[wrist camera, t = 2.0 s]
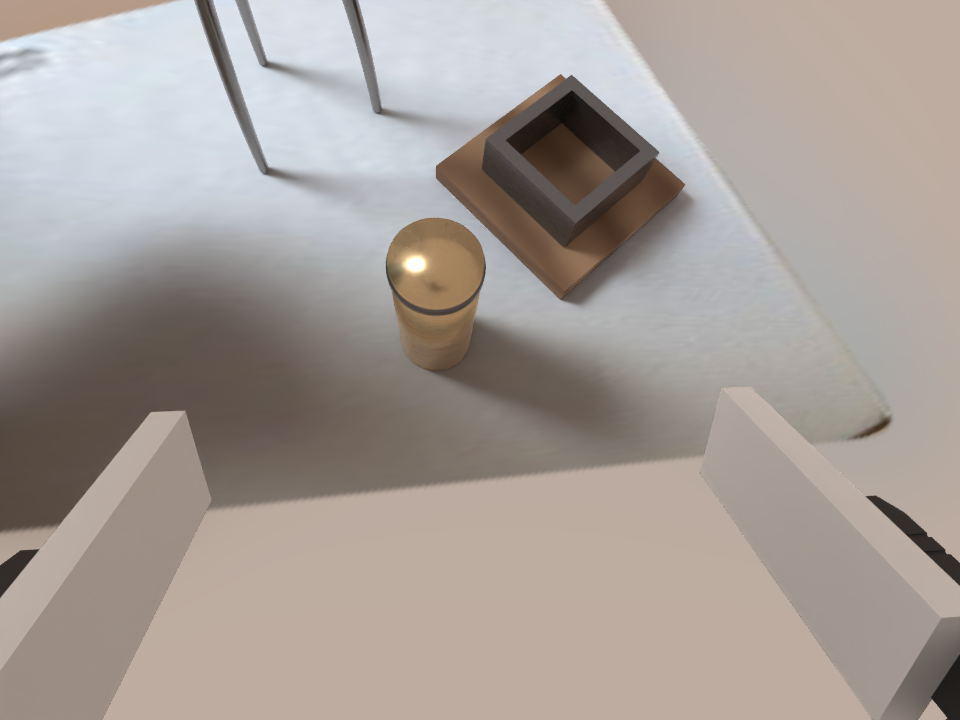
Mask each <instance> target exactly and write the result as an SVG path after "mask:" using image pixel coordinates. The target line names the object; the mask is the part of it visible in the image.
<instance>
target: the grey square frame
mask: <svg viewBox="0 0 960 720" xmlns="http://www.w3.org/2000/svg"><path fill="white" fill-rule="evenodd" d="M561 123H562V124H563V125H564V126H565V127H566V128H567V129H569V130H570V131H571V132H572V133H573V134H574V135H575V136H576V137H577V138H579V139H580V140H581V141H582V142H583V143H584V144H585V145H586V146H587V147H588V148H590V149H591V150H592V151H593V152H594V153H595V154H596V155H597V156H598V157H599V158H601V159H602V160H603V161H604V162H605V163H606V164H607V165H608V166H609V167H611V168H612V169H613V170H614V171H615V173H613V174H612V175H611V176H610V177H609V178H607V179H606V180H605V181H604V182H603V183H601V184H600V185H599V186H598V187H597V188H595V189H594V190H593V191H592V192H591V193H589V194H588V195H587V196H586V197H585V198H583V199H582V200H581V201H580V202H579V203H577V204H576V205H574V204H573V203H572V202H571V201H570V200H569V199H568V198H567V197H566V196H565V195H563V194H562V193H561V192H560V191H559V190H558V189H557V188H556V187H555V186H554V185H553V184H552V183H551V182H550V181H548V180H547V179H546V178H545V177H544V176H543V175H542V174H541V173H540V172H539V171H538V170H537V169H536V168H535V167H533V166H532V165H531V164H530V163H529V162H528V161H527V160H526V159H525V158H524V157H523V156H522V155H521V154H522V153H524V152H525V151H526V150H527V149H529V148H530V147H531V146H533V145H534V144H535V143H537V142H538V141H539V140H540V139H542V138H543V137H544V136H546V135H547V134H548V133H549V132H551V131H552V130H553V129H555V128H556V127H557V126H559V125H560V124H561ZM658 154H659V151H657V150H656V149H655V148H654V147H653V146H652V145H651V144H649V143H648V142H647V141H646V140H645V139H644V138H643V137H642V136H640V135H639V134H638V133H637V132H636V131H635V130H634V129H632V128H631V127H630V126H629V125H628V124H627V123H626V122H625V121H623V120H622V119H621V118H620V117H619V116H618V115H617V114H615V113H614V112H613V111H612V110H611V109H610V108H609V107H607V106H606V105H605V104H604V103H603V102H602V101H601V100H600V99H598V98H597V97H596V96H595V95H594V94H593V93H592V92H590V91H589V90H588V89H587V88H586V87H585V86H584V85H583V84H581V83H580V82H579V81H578V80H577V79H576V78H575V77H573V76H572V75H571V76H569V77H568V78H567V79H565V80H564V81H563V82H561V83H560V84H559V85H557V86H556V87H555V88H553V89H552V90H551V91H549V92H548V93H547V94H545V95H544V96H543V97H541V98H540V99H538V100H537V101H536V102H534V103H533V104H532V105H530V106H529V107H528V108H526V109H525V110H524V111H522V112H521V113H520V114H518V115H517V116H516V117H514V118H513V119H512V120H510V121H509V122H507V123H506V124H505V125H503V126H502V127H501V128H499V129H498V130H497V131H495V132H494V133H493V134H491V135H490V136H489V137H487V138H486V140H485V148H484V155H483V163H482V170H483V171H484V172H485V173H486V174H487V175H488V176H489V177H490V178H491V179H492V180H493V181H494V182H495V183H496V184H497V185H498V186H499V187H501V188H502V189H503V190H504V191H505V192H506V193H507V194H508V195H509V196H510V197H511V198H512V199H513V200H514V201H515V202H516V203H517V204H518V205H519V206H520V207H521V208H522V209H524V210H525V211H526V212H527V213H528V214H529V215H530V216H531V217H532V218H533V219H534V220H535V221H536V222H537V223H538V224H539V225H540V226H541V227H542V228H543V229H544V230H545V231H547V232H548V233H549V234H550V235H551V236H552V237H553V238H554V239H555V240H556V241H557V242H558V243H559V244H560V245H561V246H562V247H563V248H565V247H566V246H567V245H568V244H569V243H571V242H572V241H573V240H574V239H575V238H576V237H578V236H579V235H580V234H581V233H582V232H583V231H585V230H586V229H587V228H588V227H589V226H590V225H592V224H593V223H594V222H595V221H596V220H597V219H599V218H600V217H601V216H602V215H603V214H604V213H606V212H607V211H608V210H609V209H610V208H611V207H613V206H614V205H615V204H616V203H617V202H618V201H620V200H621V199H622V198H623V197H624V196H625V195H627V194H628V193H629V192H630V191H631V190H632V189H634V188H635V187H636V186H637V185H638V184H639V183H641V182H642V180H643V179H644V177H645V175H646V174H647V172H648V170H649V169H650V167H651V165H652V164H653V162H654V160H655V159H656V157H657V156H658Z"/></svg>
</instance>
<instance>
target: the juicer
mask: <svg viewBox="0 0 960 720" xmlns="http://www.w3.org/2000/svg"><path fill="white" fill-rule="evenodd" d="M194 1H195V4H196V7H197V10H198V13H199V17H200V20H201V23H202V26H203V29H204V32H205V35H206V38H207V41H208V43H209V46H210V49H211V52H212V55H213V58H214V61H215V63H216V66H217V69H218V72H219V74H220V77H221V80H222V82H223V85H224V88H225V90H226V93H227V95H228V98H229V101H230V103H231V106H232V108H233V111H234V113H235V116H236V118H237V120H238V123H239V125H240V128H241V130H242V132H243V135H244V137H245V139H246V142H247V144H248V146H249V148H250V151H251V153H252V155H253V157H254V159H255V162H256V164H257V166H258V168H259V170H260V172H262V173H266V172H268V170H269V167H268V164H267V162H266V159H265V156H264V154H263V151H262V148H261V146H260V143H259V140H258V138H257V135H256V132H255V129H254V126H253V124H252V121H251V118H250V115H249V112H248V109H247V106H246V104H245V101H244V98H243V95H242V92H241V89H240V86H239V83H238V80H237V77H236V73H235V70H234V67H233V64H232V61H231V58H230V55H229V52H228V48H227V45H226V42H225V39H224V36H223V32H222V29H221V26H220V22H219V19H218V16H217V12H216V9H215V6H214V2H213V0H194ZM235 1H236V4H237V7H238V9H239V12H240V15H241V17H242V20H243V23H244V25H245V28H246V31H247V33H248V36H249V38H250V41H251V44H252V46H253V49H254V51H255V54H256V56H257V59H258V62H259V64H260V65H262V66H265V65H267V58H266V55H265V52H264V49H263V46H262V43H261V40H260V37H259V34H258V30H257V27H256V24H255V21H254V18H253V15H252V12H251V9H250V5H249V2H248V0H235ZM342 1H343V4H344V7H345V10H346V13H347V17H348V20H349V23H350V26H351V29H352V33H353V36H354V39H355V43H356V46H357V50H358V53H359V57H360V60H361V64H362V68H363V72H364V75H365V79H366V83H367V87H368V91H369V95H370V100H371V104H372V108H373V111H374V112H376V113H379V112H381V110H382V107H381V100H380V95H379V89H378V83H377V78H376V73H375V68H374V63H373V58H372V54H371V49H370V45H369V41H368V37H367V32H366V28H365V24H364V20H363V17H362V13H361V9H360V5H359V2H358V0H342Z"/></svg>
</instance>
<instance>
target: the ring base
mask: <svg viewBox="0 0 960 720" xmlns="http://www.w3.org/2000/svg"><path fill="white" fill-rule="evenodd" d="M564 80H565V78H564V77H563V76H562V75H561V74H560V75H559V76H558V77H556V78H555V79H554V80H552V81H551V82H549V83H548V84H547V85H545V86H544V87H543V88H541V89H540V90H539V91H537V92H536V93H534V94H533V95H532V96H530V97H529V98H528V99H526V100H525V101H524V102H522V103H521V104H520V105H518V106H517V107H515V108H514V109H513V110H511V111H510V112H509V113H507V114H506V115H505V116H503V117H502V118H501V119H499V120H498V121H496V122H495V123H494V124H492V125H491V126H490V127H488V128H487V129H486V130H484V131H483V132H482V133H480V134H479V135H477V136H476V137H475V138H473V139H472V140H471V141H469V142H468V143H467V144H465V145H464V146H462V147H461V148H460V149H458V150H457V151H456V152H454V153H453V154H452V155H450V156H449V157H448V158H446V159H445V160H443V161H442V162H441V163H439V164H438V165H437V166H436V178H437V179H438V180H439V181H440V182H441V183H442V184H443V185H444V186H445V187H446V188H447V189H448V190H449V191H450V192H451V193H452V194H453V195H454V196H455V197H456V198H457V199H458V200H459V201H460V202H461V203H462V204H463V205H464V206H465V207H466V208H467V209H468V210H469V211H470V212H471V213H472V214H473V215H474V216H475V217H476V218H477V219H478V220H479V221H480V222H481V223H482V224H483V225H484V226H486V227H487V228H488V229H489V230H490V231H491V232H492V233H493V234H494V235H495V236H496V237H497V238H498V239H499V240H500V241H501V242H502V243H503V244H504V245H505V246H506V247H507V248H508V249H509V250H510V251H511V252H512V253H513V254H514V255H515V256H516V257H517V258H518V259H519V260H520V261H521V262H522V263H523V264H524V265H525V266H526V267H527V268H528V269H529V270H530V271H531V272H532V273H534V274H535V275H536V276H537V277H538V278H539V279H540V280H541V281H542V282H543V283H544V284H545V285H546V286H547V287H548V288H549V289H550V290H551V291H552V292H553V293H554V294H555V295H556V296H557V297H558V298H559V299H560V300H561V299H562V298H563V297H564V296H565V295H566V294H567V293H568V292H569V291H571V290H572V289H573V288H574V287H575V286H576V285H577V284H578V283H580V282H581V281H582V280H583V279H584V278H585V277H586V276H587V275H589V274H590V273H591V272H592V271H593V270H594V269H595V268H596V267H598V266H599V265H600V264H601V263H602V262H603V261H604V260H605V259H607V258H608V257H609V256H610V255H611V254H612V253H613V252H614V251H616V250H617V249H618V248H619V247H620V246H621V245H622V244H623V243H624V242H626V241H627V240H628V239H629V238H630V237H631V236H632V235H633V234H635V233H636V232H637V231H638V230H639V229H640V228H641V227H642V226H644V225H645V224H646V223H647V222H648V221H649V220H650V219H651V218H653V217H654V216H655V215H656V214H657V213H658V212H659V211H660V210H662V209H663V208H664V207H665V206H666V205H667V204H668V203H669V202H671V201H672V200H673V199H674V198H675V197H676V196H677V195H678V194H679V192H680V191H681V190H682V188H683V187H684V186H685V184H684V183H683V182H682V181H681V180H680V179H678V178H677V177H676V176H675V175H674V174H673V173H672V172H670V171H669V170H668V169H667V168H666V167H665V166H664V165H663V164H661V163H660V162H659V161H658V160H657V159H655V160H654V162H653V164H652V165H651V167H650V169H649V170H648V172H647V174H646V175H645V177H644V179H643V180H642V182H641V183H639V184H638V185H637V186H636V187H635V188H634V189H632V190H631V191H630V192H629V193H628V194H627V195H625V196H624V197H623V198H622V199H621V200H620V201H618V202H617V203H616V204H615V205H614V206H613V207H611V208H610V209H609V210H608V211H607V212H606V213H604V214H603V215H602V216H601V217H600V218H599V219H597V220H596V221H595V222H594V223H593V224H592V225H590V226H589V227H588V228H587V229H586V230H585V231H583V232H582V233H581V234H580V235H579V236H578V237H576V238H575V239H574V240H573V241H572V242H571V243H569V244H568V245H567V246H566V247H565V248H563V247H562V246H561V245H560V244H559V243H558V242H557V241H556V240H555V239H554V238H553V237H552V236H551V235H550V234H549V233H548V232H547V231H545V230H544V229H543V228H542V227H541V226H540V225H539V224H538V223H537V222H536V221H535V220H534V219H533V218H532V217H531V216H530V215H529V214H528V213H527V212H526V211H525V210H524V209H522V208H521V207H520V206H519V205H518V204H517V203H516V202H515V201H514V200H513V199H512V198H511V197H510V196H509V195H508V194H507V193H506V192H505V191H504V190H503V189H502V188H501V187H499V186H498V185H497V184H496V183H495V182H494V181H493V180H492V179H491V178H490V177H489V176H488V175H487V174H486V173H485V172H484V171H483V170H482V163H483V155H484V148H485V140H486V138H487V137H489V136H490V135H491V134H493V133H494V132H495V131H497V130H498V129H499V128H501V127H502V126H503V125H505V124H506V123H507V122H509V121H510V120H512V119H513V118H514V117H516V116H517V115H518V114H520V113H521V112H522V111H524V110H525V109H526V108H528V107H529V106H530V105H532V104H533V103H534V102H536V101H537V100H538V99H540V98H541V97H543V96H544V95H545V94H547V93H548V92H549V91H551V90H552V89H553V88H555V87H556V86H557V85H559V84H560V83H561V82H563V81H564ZM521 155H522V156H523V157H524V158H525V159H526V160H527V161H528V162H529V163H530V164H531V165H532V166H533V167H535V168H536V169H537V170H538V171H539V172H540V173H541V174H542V175H543V176H544V177H545V178H546V179H547V180H548V181H550V182H551V183H552V184H553V185H554V186H555V187H556V188H557V189H558V190H559V191H560V192H561V193H562V194H563V195H565V196H566V197H567V198H568V199H569V200H570V201H571V202H572V203H573V204H574V205H576V204H577V203H579V202H580V201H581V200H582V199H583V198H585V197H586V196H587V195H588V194H589V193H591V192H592V191H593V190H594V189H595V188H597V187H598V186H599V185H600V184H601V183H603V182H604V181H605V180H606V179H607V178H609V177H610V176H611V175H612V174H613V173H615V171H614V170H613V169H612V168H611V167H609V166H608V165H607V164H606V163H605V162H604V161H603V160H602V159H601V158H599V157H598V156H597V155H596V154H595V153H594V152H593V151H592V150H591V149H590V148H588V147H587V146H586V145H585V144H584V143H583V142H582V141H581V140H580V139H579V138H577V137H576V136H575V135H574V134H573V133H572V132H571V131H570V130H569V129H567V128H566V127H565V126H564V125H563V124H562V123H561V124H560V125H559V126H557V127H556V128H555V129H553V130H552V131H551V132H549V133H548V134H547V135H546V136H544V137H543V138H542V139H540V140H539V141H538V142H537V143H535V144H534V145H533V146H531V147H530V148H529V149H527V150H526V151H525V152H524V153H522V154H521Z"/></svg>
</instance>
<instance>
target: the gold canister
mask: <svg viewBox="0 0 960 720" xmlns="http://www.w3.org/2000/svg"><path fill="white" fill-rule="evenodd" d="M485 270H486V264H485V257H484V253H483V250H482V247H481V245H480V243H479V241H478V240H477V238H476V237H475V236H474V235H473V233H472V232H471V231H469V230H468V229H467V228H466V227H464V226H463V225H461V224H459V223H457V222H454V221H452V220H448V219H443V218H426V219H422V220H418V221H416V222H413V223H411V224H409V225H408V226H406V227H405V228H403V229H402V230H401V231H400V232H399V233H398V234H397V235H396V236H395V238H394V239H393V241H392V243H391V245H390V247H389V250H388V254H387V259H386V273H387V278H388V282H389V285H390V288H391V290H392V294H393V300H394V305H395V310H396V316H397V321H398V326H399V331H400V337H401V342H402V346H403V349H404V352H405V353H406V355H407V357H408V358H409V359H410V360H411V361H412V362H413V363H414V364H416V365H417V366H419V367H421V368H424V369H427V370H433V371H439V370H445V369H448V368H451V367H453V366H454V365H456V364H457V363H459V362H460V361H461V360H462V359H463V358H464V356H465V355H466V353H467V351H468V349H469V345H470V341H471V335H472V330H473V325H474V320H475V314H476V309H477V304H478V299H479V293H480V290H481V288H482V285H483V282H484V277H485Z"/></svg>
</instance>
